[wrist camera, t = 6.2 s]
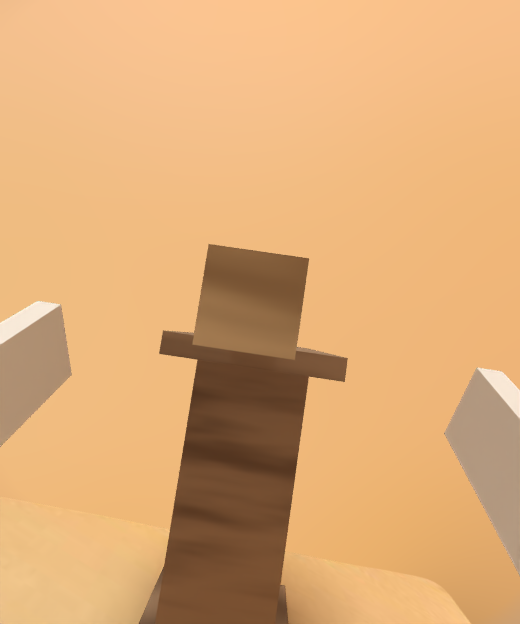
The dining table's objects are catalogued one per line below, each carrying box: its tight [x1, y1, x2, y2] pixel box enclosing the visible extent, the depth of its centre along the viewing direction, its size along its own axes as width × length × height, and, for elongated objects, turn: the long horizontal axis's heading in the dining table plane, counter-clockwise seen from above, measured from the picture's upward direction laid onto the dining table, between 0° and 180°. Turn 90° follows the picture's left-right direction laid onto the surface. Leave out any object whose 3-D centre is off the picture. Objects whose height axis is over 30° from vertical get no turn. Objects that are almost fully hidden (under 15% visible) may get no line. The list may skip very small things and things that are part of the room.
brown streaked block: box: [192, 244, 309, 360], centre depth 25 cm, size 30×3×3 cm, turn 179°
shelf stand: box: [139, 331, 347, 624], centre depth 31 cm, size 20×14×28 cm
